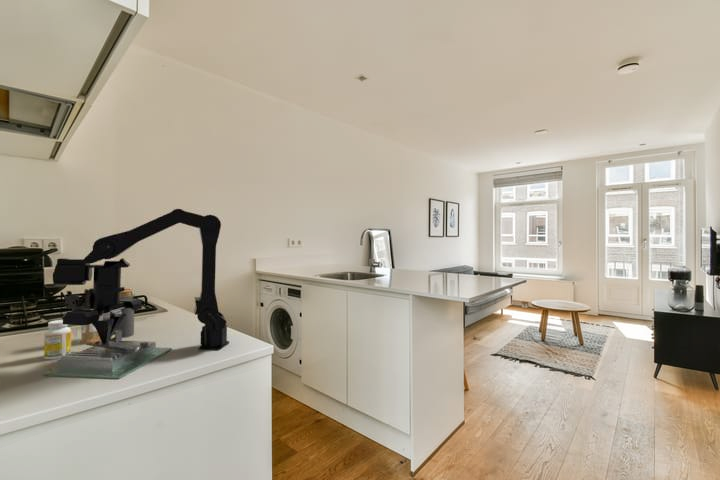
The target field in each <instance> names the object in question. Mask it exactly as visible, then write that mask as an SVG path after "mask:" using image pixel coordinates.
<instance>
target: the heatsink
mask: <svg viewBox="0 0 720 480" xmlns="http://www.w3.org/2000/svg"><path fill="white" fill-rule="evenodd" d="M118 342H120V343H127V344H133V345H139V346H142V345H143V346H144V348H143V349H141V350H139V351H137V352H135V348H128V349H127V351H121V350H114V349H108V348H102V347H96V346H90V347H88V348H84V349H83V350H81V351H71V353H67V354H66V355H62V356H60V358H59V359H57V367H54V368H52V369H50V370H47V371H44V372H43V376H50V377H71V378H72V377H75V378H93V379H95V378H96V379H115V380H116V379H117V380H119V379H122V378H124V377H126V376H127V375H129V374H131V373H133V372H135V371H136V370H138V369H140V368H142V367H144V366H145V365H147V364H149V363H151V362H152V361H155V360H157V359H158V358H160V357H162V356H164V355H166V354H167V353H169V352H171V351H172V350H173V348H172V347H158V346H156V341H148V340H144V341H143V340H141V341H140V340H123V339H122V340H121V341H118Z"/></svg>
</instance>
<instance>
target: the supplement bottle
mask: <svg viewBox="0 0 720 480" xmlns="http://www.w3.org/2000/svg"><path fill="white" fill-rule="evenodd" d="M47 327H48V329H47V330H46V331H45V332H44V339H43V340H44V345H43V347H44V353H43V356H44V357H43V358H44V359H45V360H59V359H60V356H62V355H66V354H67V353H71V352H72V329H71V327H69V325H67V324H63V319H56V320H52V321H48V324H47Z"/></svg>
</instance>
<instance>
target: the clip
mask: <svg viewBox="0 0 720 480" xmlns="http://www.w3.org/2000/svg"><path fill="white" fill-rule="evenodd" d="M98 338H100V337H98ZM121 340H122V341H123V338H122V330H115V332H114V334H113V335H112V337H111V339H110V340H109V341H114V342H118V341H121Z"/></svg>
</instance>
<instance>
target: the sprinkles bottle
mask: <svg viewBox="0 0 720 480" xmlns="http://www.w3.org/2000/svg"><path fill="white" fill-rule="evenodd" d="M85 310H93V309H85ZM80 333H81V339H80V344H81V343H82V344H83V345H84V344H86V343H87V341H88V340H90V339H93V338H96V337H99V335H98V332H97V330H96V328H95V327H94V325H93V324H89V325H83V326H82V325H80Z"/></svg>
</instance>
